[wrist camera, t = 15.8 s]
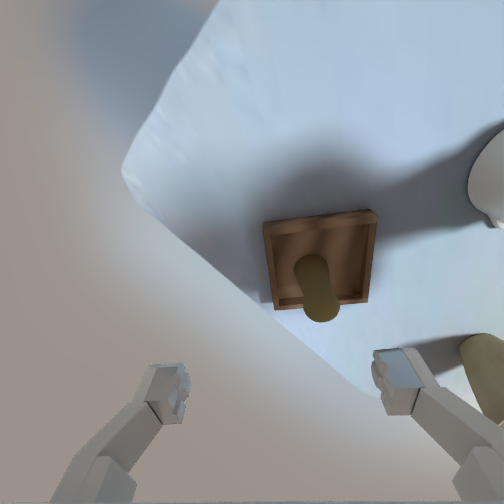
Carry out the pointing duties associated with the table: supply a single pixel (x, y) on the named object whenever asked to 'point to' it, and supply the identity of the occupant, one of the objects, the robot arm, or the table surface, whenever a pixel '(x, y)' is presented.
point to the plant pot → (486, 373)
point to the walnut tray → (321, 254)
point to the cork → (316, 288)
